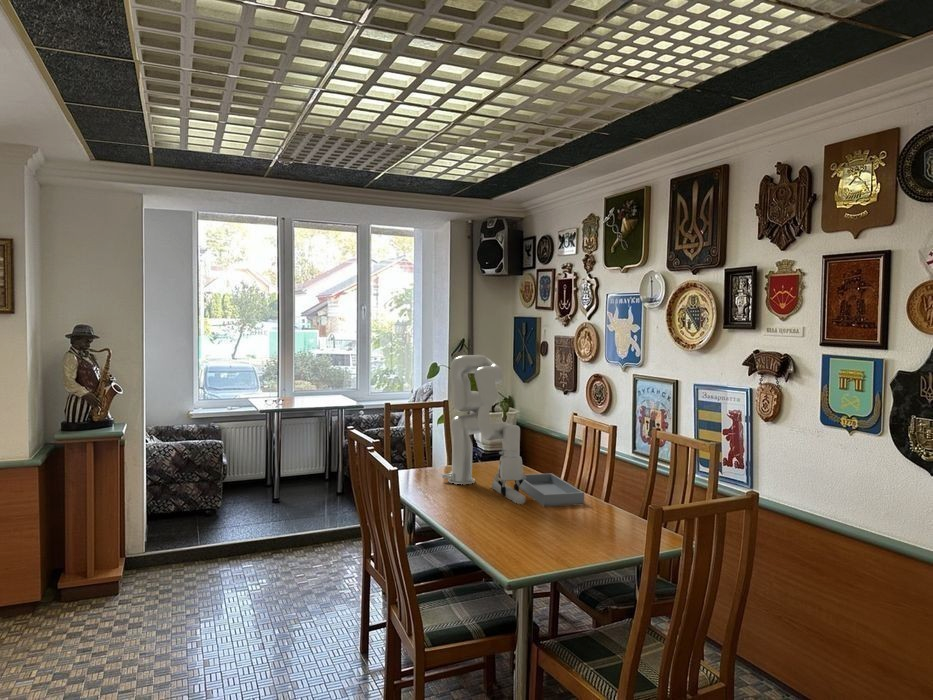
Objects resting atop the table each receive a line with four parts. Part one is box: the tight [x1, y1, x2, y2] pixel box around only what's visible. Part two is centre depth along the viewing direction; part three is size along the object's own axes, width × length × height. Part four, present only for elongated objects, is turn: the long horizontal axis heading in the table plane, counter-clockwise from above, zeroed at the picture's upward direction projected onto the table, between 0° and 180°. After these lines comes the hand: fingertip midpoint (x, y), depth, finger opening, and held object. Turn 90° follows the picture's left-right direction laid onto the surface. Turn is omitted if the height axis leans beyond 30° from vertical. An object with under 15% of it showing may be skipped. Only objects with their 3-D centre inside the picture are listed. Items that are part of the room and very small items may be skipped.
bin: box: [519, 472, 585, 508], centre depth 275 cm, size 18×34×5 cm, turn 16°
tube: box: [491, 479, 527, 505], centre depth 270 cm, size 5×5×25 cm
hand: (509, 494), depth 270 cm, fingers open, 4 cm apart
